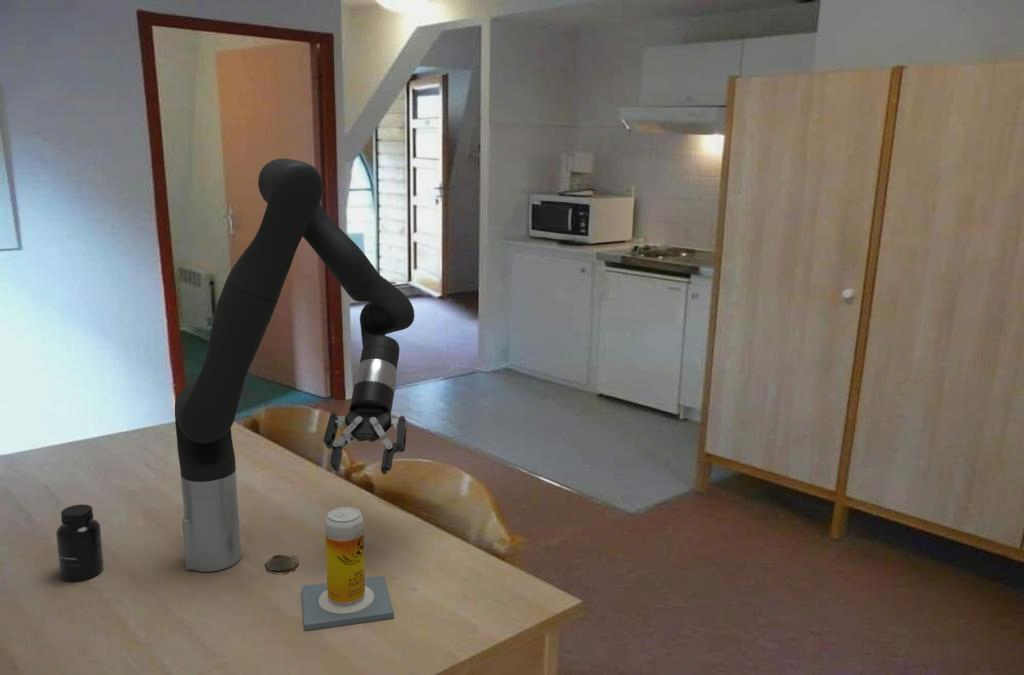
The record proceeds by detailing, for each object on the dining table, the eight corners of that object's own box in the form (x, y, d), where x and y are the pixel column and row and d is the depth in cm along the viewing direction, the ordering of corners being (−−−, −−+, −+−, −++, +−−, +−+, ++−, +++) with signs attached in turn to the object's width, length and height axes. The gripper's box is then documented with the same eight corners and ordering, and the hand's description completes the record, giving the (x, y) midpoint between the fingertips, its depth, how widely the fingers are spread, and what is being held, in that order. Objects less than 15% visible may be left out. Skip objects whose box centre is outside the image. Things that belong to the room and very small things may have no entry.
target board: (304, 630, 125) (304, 623, 125) (301, 591, 136) (301, 584, 136) (393, 618, 129) (393, 611, 128) (384, 580, 140) (384, 574, 140)
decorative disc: (259, 574, 141) (258, 569, 141) (270, 557, 148) (270, 552, 147) (295, 575, 141) (295, 570, 141) (305, 559, 147) (305, 554, 147)
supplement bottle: (60, 586, 136) (52, 521, 133) (61, 568, 142) (53, 505, 139) (104, 577, 139) (98, 513, 137) (104, 559, 145) (97, 498, 142)
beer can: (356, 609, 129) (354, 523, 125) (321, 604, 130) (318, 519, 127) (370, 590, 135) (368, 507, 131) (336, 585, 136) (334, 504, 132)
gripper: (331, 377, 144) (314, 460, 136) (409, 380, 143) (396, 464, 135) (340, 397, 151) (324, 477, 142) (415, 400, 150) (403, 481, 141)
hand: (359, 471), depth 138 cm, fingers open, 8 cm apart
